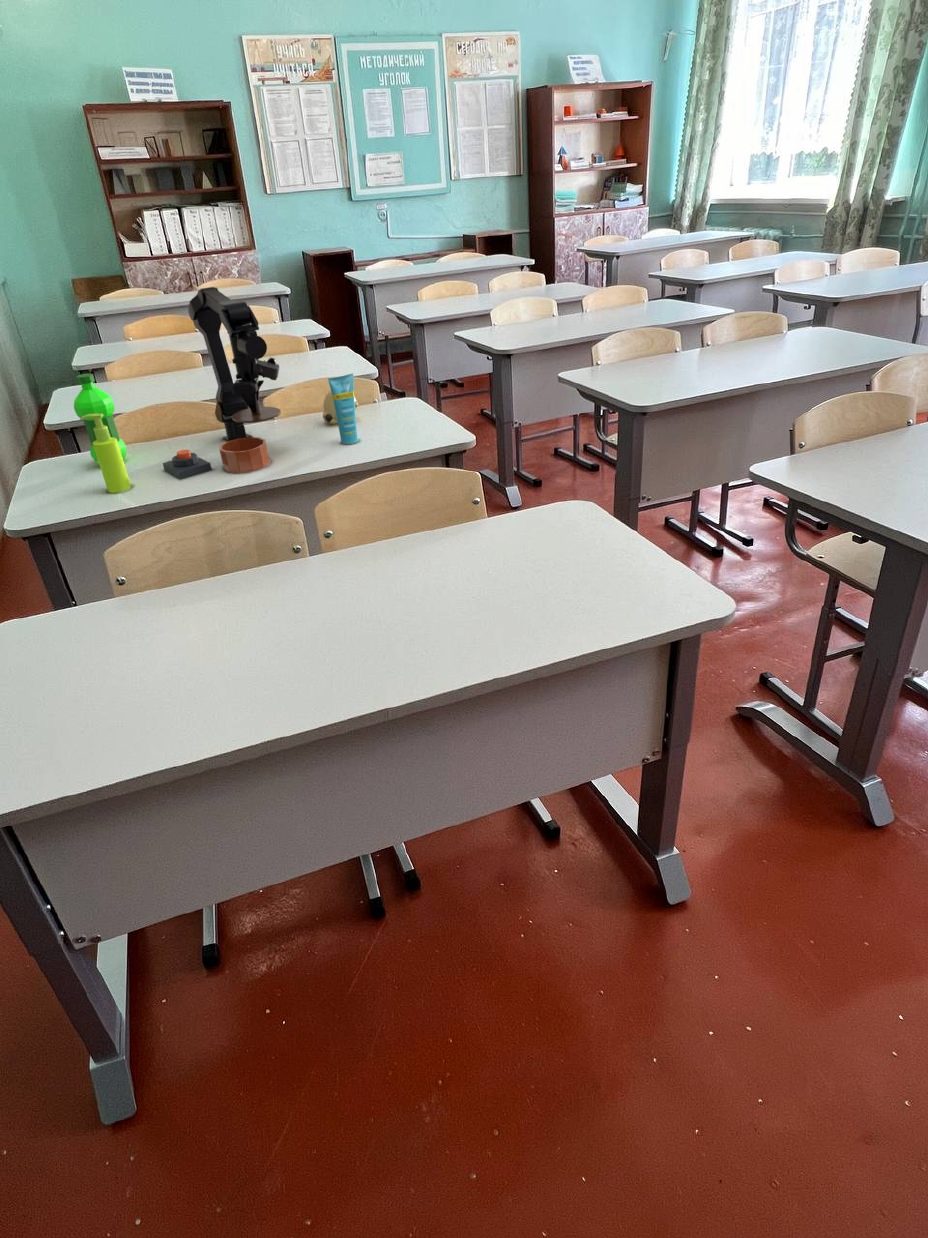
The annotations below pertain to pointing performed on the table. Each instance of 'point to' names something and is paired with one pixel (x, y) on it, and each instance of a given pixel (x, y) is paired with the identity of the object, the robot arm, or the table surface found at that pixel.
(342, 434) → the tube
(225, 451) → the round brown pot
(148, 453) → the table surface
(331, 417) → the toy pig
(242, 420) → the lid
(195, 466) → the box
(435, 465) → the table surface
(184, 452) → the button
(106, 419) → the plastic bottle
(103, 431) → the soap dispenser
